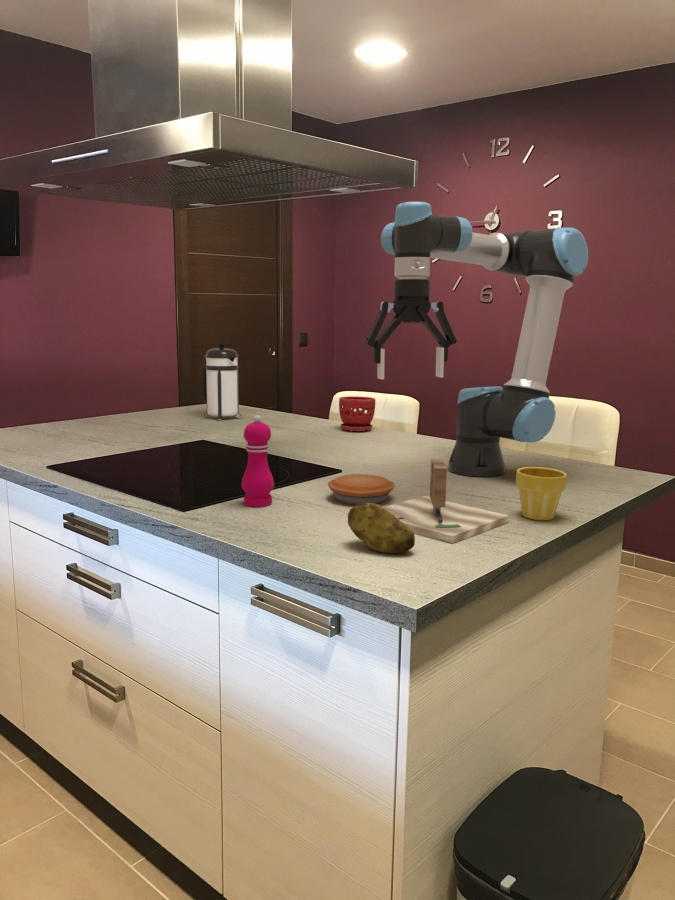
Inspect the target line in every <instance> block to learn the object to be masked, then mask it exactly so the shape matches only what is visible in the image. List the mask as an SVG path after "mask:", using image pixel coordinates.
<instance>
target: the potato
mask: <svg viewBox="0 0 675 900" xmlns="http://www.w3.org/2000/svg"><path fill="white" fill-rule="evenodd" d="M383 507H384V506H383ZM383 507H382V506H381V505H380V504H374V503H370V502H367V503H360V504H358V505H354V506H353V507H351V509H349V511H348V513H347V524H348V526H349V528H350V531H352V532H353V534H354V535H355V537H357V538H358V539H359V540H360V541H362V542H363V543H364V544H365V545H366V546H367V547H368V548H369V549H371V550H373V551H376V552H379V553H384V554H399V553H400V554H404V553H406V552H408V551H410V550H412V549H413V548H414V547H415V544H416V540H415V539H416V537H415V533H413V531H412V530H411V529H410V528H409V527H408V526H407V525H405V524H404V523H403V522H402V521H400V520H399V519H397V518H396V517H395V515H393V514H391V513H390V512H388V511H387V510H385V509H384V508H383Z"/></svg>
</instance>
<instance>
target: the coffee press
mask: <svg viewBox="0 0 675 900" xmlns="http://www.w3.org/2000/svg"><path fill="white" fill-rule="evenodd" d="M218 346H219V347H218V348H211V349H210V348H209V349H208V350H207V351H206V354H204V357H205V360H206V362H205V363H206V364H205V366H204V368H203V370H202V372H203V373H202V388H203V397H204V400H205V401H206V411H205V413H204V415H203V417H204V416H205V417H206V414H208V416H209V417H210V416H211V417H217V420H218V419H221V418H222V419H223V417H231V416H232V417H236V416H237V414H239V417H241V416H242V414H241V413H240V410H239V407H240V405H239V404H240V403H239V396H240V395H239V364H238V359H239V355H238V353H237V351H236V350H234V349H233V348H225V343H224V342H223V341H219V343H218ZM242 417H243V416H242Z"/></svg>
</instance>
